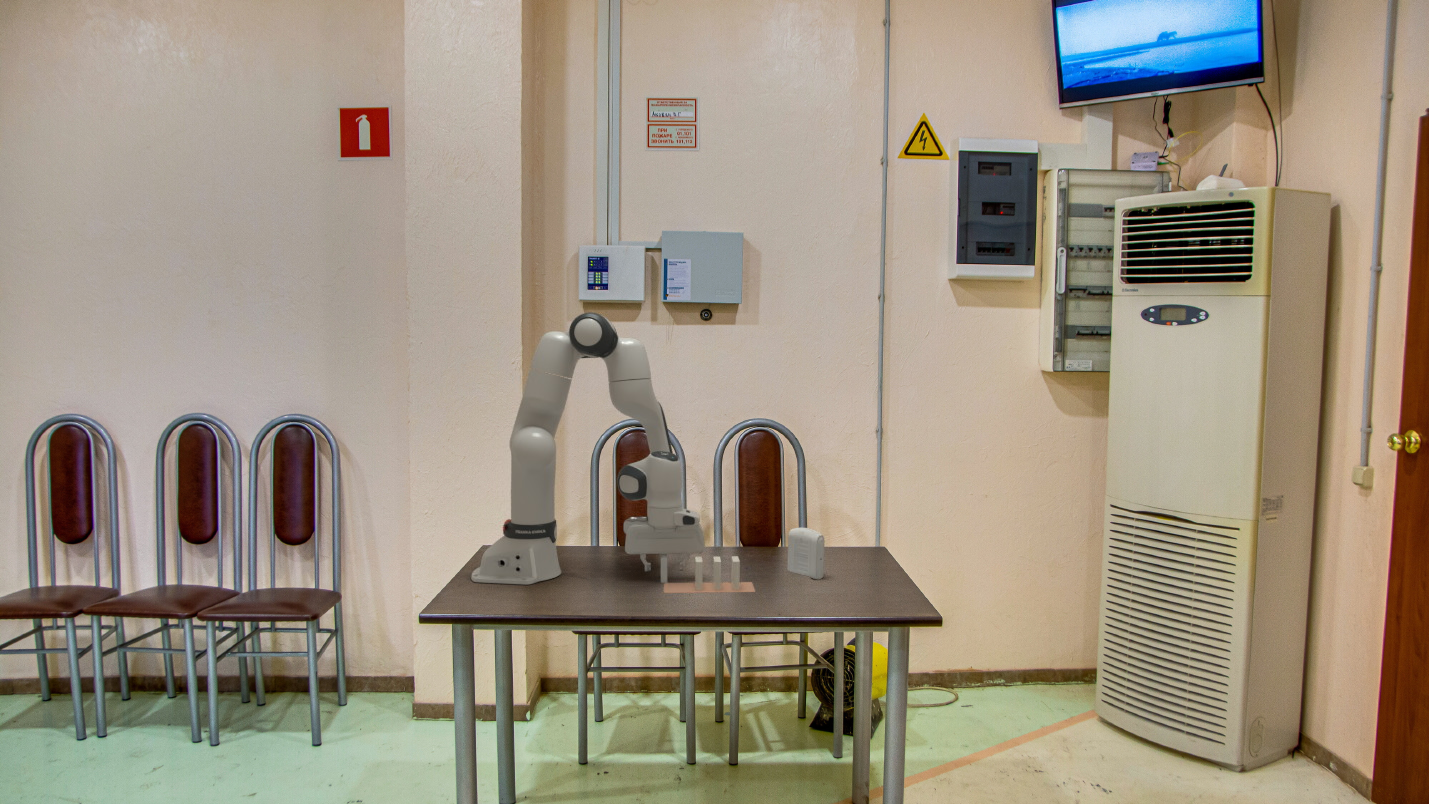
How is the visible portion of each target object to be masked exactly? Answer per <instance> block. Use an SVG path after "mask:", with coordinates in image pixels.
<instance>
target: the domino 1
mask: <svg viewBox="0 0 1429 804" xmlns="http://www.w3.org/2000/svg"><path fill="white" fill-rule="evenodd" d="M660 583H663V584H664V583H668V554H660Z"/></svg>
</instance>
